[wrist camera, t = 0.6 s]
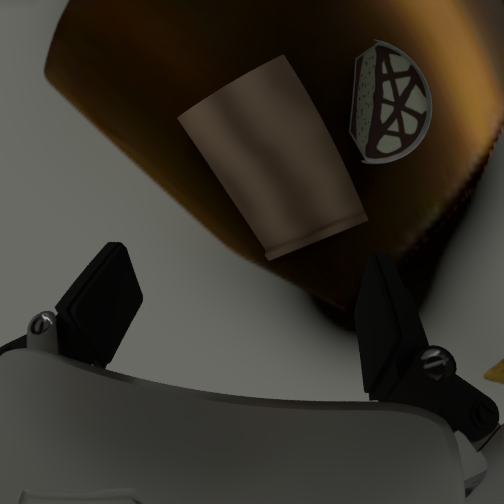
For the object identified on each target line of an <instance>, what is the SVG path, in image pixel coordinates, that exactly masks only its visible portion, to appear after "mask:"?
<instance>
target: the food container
mask: <svg viewBox="0 0 504 504" xmlns="http://www.w3.org/2000/svg"><path fill="white" fill-rule="evenodd" d="M374 41H377V42H378V43H376V44H375V45H374V46H372V47H371V48H369V49H368V50H366V51H365V52H364V53H362V54H361V55H360V56H358V57H357V58H355V70H354V84H353V96H352V107H351V116H350V125H349V133H350V135H351V136H352V138H353V140H354V141H355V143H356V145H357V146H358V148H359V150H360V152H361V153H362V155H363V157H364V159H365V160H362V162H363V163H368V164H382V163H387V162H392V161H395V160H397V159H400V158H402V157H404V156H405V155H407V154H409V153H410V152H411V151H412V150H414V149H415V148H416V147H417V146H418V145H419V143H420V142H421V141H422V140H423V138H424V136H425V135H426V133H427V130H428V128H429V125H430V121H431V117H432V98H431V93H430V89H429V86H428V84H427V81H426V79H425V77H424V75H423V74H422V72H421V70H420V69H419V67H418V66H417V65H416V64H415V62H414V61H413V60H412V59H411V58H410V57H409V56H408V55H407V54H405V53H404V52H403V51H401V50H400V49H398V48H397V47H395V46H393V45H391V44H389V43H386V42H383V41H380V40H376V39H374Z"/></svg>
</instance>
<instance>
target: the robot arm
mask: <svg viewBox="0 0 504 504" xmlns="http://www.w3.org/2000/svg"><path fill="white" fill-rule="evenodd" d="M142 302H143V295H142V292H141V289H140V286H139V283H138V281H137V278H136V275H135V272H134V269H133V266H132V263H131V260H130V257H129V254H128V251H127V248H126V247H125V246H124V245H123V244H122V243H121V242H108V243H107V244H106V245H105V246H104V247H103V248H102V250H101V251H100V252H99V253H98V254H97V255H96V256H95V258H94V259H93V260H92V261H91V262H90V263H89V265H88V266H87V267H86V268H85V269H84V271H83V272H82V273H81V274H80V275H79V277H78V278H77V279H76V280H75V282H74V283H73V284H72V285H71V287H70V288H69V290H68V291H67V292H66V293H65V294H64V296H63V297H62V298H61V300H60V301H59V302H58V304H57V305H56V306H55V309H56V310H57V312H58V314H57V315H56V316H55V314H54V313H53V312H51V311H44V312H41V313H39V314H37V315H36V316H35V317H33V319H32V320H31V321H30V323H29V325H28V329H27V334H26V335H24V336H22V337H20V338H18V339H16V340H14V341H12V342H9V343H7V344H5V345H4V346H2V347H0V504H504V424H502V425H500V424H499V423H498V422H499V411H498V407H497V406H496V404H495V402H494V401H493V400H492V399H491V398H489V397H488V396H486V395H485V394H483V393H482V392H481V391H479V390H478V389H476V388H475V387H473V386H472V385H471V384H469V383H468V382H466V381H465V380H463V379H462V378H461V377H459V376H458V375H456V370H457V368H456V362H455V359H454V357H453V356H452V354H451V353H450V352H449V351H447V350H446V349H445V348H443V347H440V346H435V345H432V346H429V344H428V341H427V338H426V335H425V331H424V328H423V326H422V323H421V320H420V317H419V314H418V311H417V309H416V306H415V303H414V301H413V298H412V295H411V293H410V291H409V290H408V289H404V286H403V284H402V282H401V279H400V276H399V274H398V271H397V269H396V266H395V264H394V262H393V259H392V257H391V255H390V253H387V252H374V253H373V256H369V257H368V259H367V264H366V268H365V272H364V276H363V280H362V284H361V288H360V292H359V296H358V300H357V303H356V307H355V312H354V317H355V324H356V331H357V337H358V344H359V352H360V359H361V367H362V376H363V386H364V391H365V393H369V400H370V401H371V400H372V401H373V400H378V402H356V401H349V402H345V401H343V402H341V401H340V402H338V401H337V402H336V401H300V400H298V401H297V400H280V399H266V398H265V399H264V398H255V397H245V396H236V395H228V394H221V393H213V392H206V391H200V390H194V389H188V388H183V387H178V386H172V385H167V384H162V383H158V382H153V381H149V380H145V379H140V378H136V377H132V376H128V375H124V374H120V373H117V372H113V371H109V370H106V369H105V368H106V366H107V364H108V363H110V362H111V361H112V359H113V357H114V355H115V353H116V351H117V349H118V347H119V345H120V343H121V341H122V339H123V337H124V335H125V333H126V332H127V330H128V328H129V326H130V324H131V322H132V320H133V318H134V317H135V315H136V313H137V311H138V309H139V308H140V306H141V304H142Z"/></svg>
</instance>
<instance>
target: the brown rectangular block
mask: <svg viewBox="0 0 504 504" xmlns="http://www.w3.org/2000/svg"><path fill="white" fill-rule="evenodd" d="M177 119H178V120H179V121H180V123H181V124H182V126H183V127H184V129H185V130H186V132H187V133H188V135H189V136H190V138H191V139H192V141H193V142H194V144H195V145H196V147H197V148H198V149H199V151H200V152H201V154H202V155H203V157H204V158H205V160H206V161H207V163H208V164H209V166H210V167H211V169H212V170H213V172H214V173H215V175H216V176H217V178H218V179H219V181H220V182H221V184H222V185H223V187H224V188H225V190H226V191H227V193H228V194H229V196H230V197H231V199H232V200H233V202H234V203H235V205H236V206H237V208H238V209H239V211H240V212H241V214H242V215H243V217H244V218H245V220H246V221H247V223H248V224H249V226H250V227H251V229H252V230H253V232H254V233H255V235H256V237H257V238H258V240H259V241H260V243H261V244H262V246H263V247H264V249H265V256H266V258H267V259H268V261H269V260H272V259H274V258H277V257H279V256H282V255H284V254H287V253H289V252H292V251H294V250H297V249H299V248H302V247H304V246H307V245H309V244H312V243H314V242H317V241H319V240H322V239H324V238H326V237H329V236H331V235H334V234H336V233H339V232H341V231H344V230H346V229H348V228H351V227H353V226H356V225H358V224H361V223H363V222H365V221H368V218H367V216H366V213H365V211H364V209H363V206H362V204H361V201H360V199H359V197H358V194H357V192H356V189H355V187H354V185H353V183H352V180H351V178H350V176H349V174H348V171H347V169H346V167H345V165H344V163H343V161H342V158H341V156H340V154H339V152H338V150H337V148H336V146H335V144H334V142H333V140H332V138H331V136H330V134H329V132H328V130H327V128H326V126H325V124H324V122H323V120H322V119H321V117H320V115H319V113H318V111H317V109H316V108H315V106H314V104H313V102H312V100H311V99H310V97H309V95H308V93H307V92H306V90H305V88H304V87H303V85H302V83H301V81H300V80H299V78H298V76H297V75H296V73H295V72H294V70H293V68H292V67H291V65H290V64H289V62H288V60H287V59H286V57H285V56H284V54H283V55H281V56H279V57H277V58H275V59H273V60H271V61H269V62H267V63H265V64H263V65H262V66H260V67H258V68H256V69H254V70H252V71H250V72H249V73H247V74H245V75H243V76H242V77H240V78H238V79H236V80H235V81H233V82H231V83H230V84H228V85H226V86H225V87H223V88H221V89H220V90H218V91H216V92H215V93H213V94H212V95H210V96H209V97H207V98H205V99H204V100H202V101H201V102H199V103H198V104H196V105H195V106H193V107H192V108H190V109H189V110H188V111H186V112H185V113H183V114H182V115H180V116H179V117H178V118H177Z"/></svg>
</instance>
